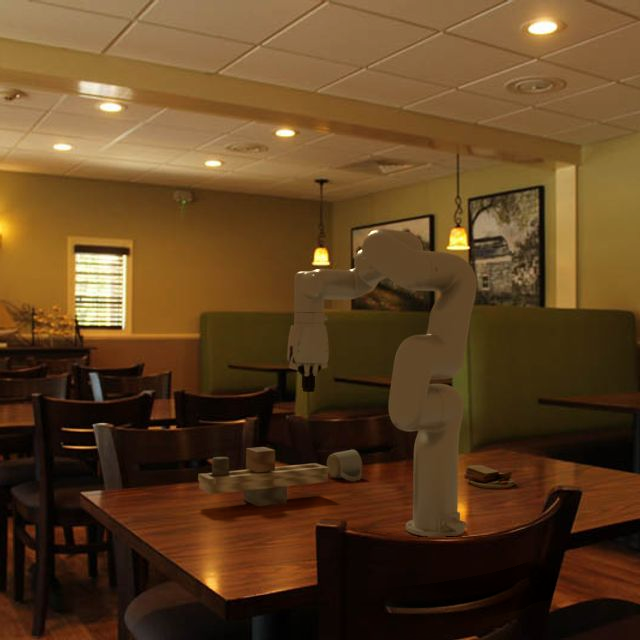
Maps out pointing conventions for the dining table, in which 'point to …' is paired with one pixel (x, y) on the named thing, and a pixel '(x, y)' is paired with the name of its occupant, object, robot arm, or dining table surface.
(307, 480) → the beam
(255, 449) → the block
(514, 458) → the dining table surface
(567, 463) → the dining table surface
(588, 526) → the dining table surface
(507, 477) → the toy sandwich meal
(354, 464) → the ceramic mug
